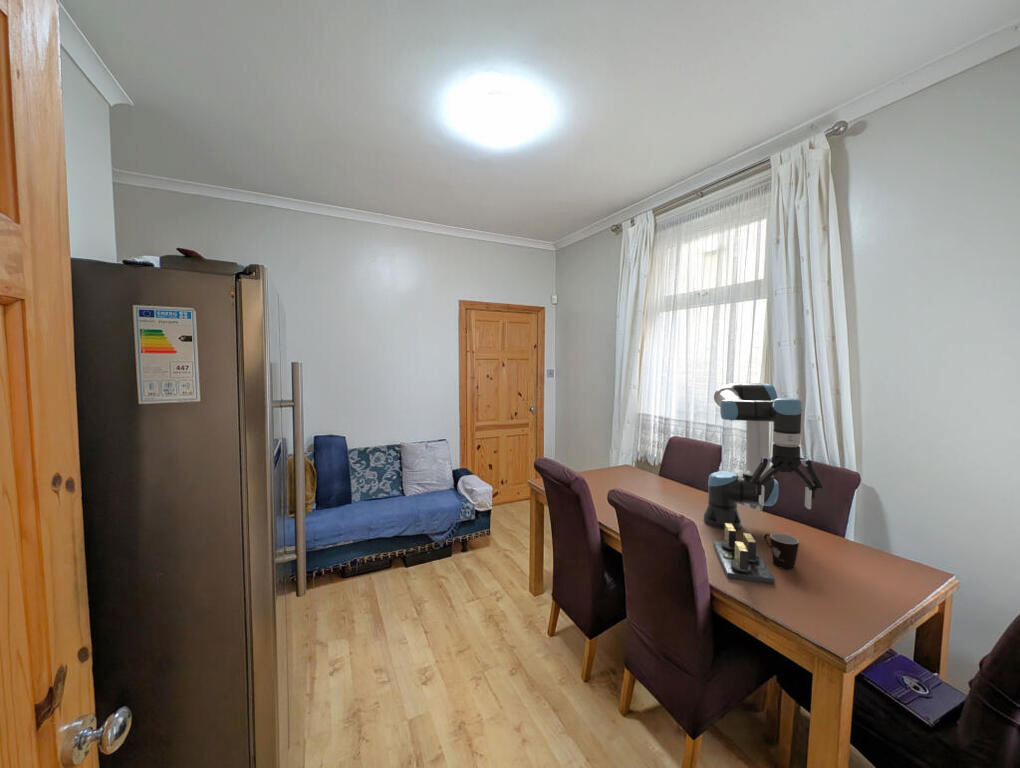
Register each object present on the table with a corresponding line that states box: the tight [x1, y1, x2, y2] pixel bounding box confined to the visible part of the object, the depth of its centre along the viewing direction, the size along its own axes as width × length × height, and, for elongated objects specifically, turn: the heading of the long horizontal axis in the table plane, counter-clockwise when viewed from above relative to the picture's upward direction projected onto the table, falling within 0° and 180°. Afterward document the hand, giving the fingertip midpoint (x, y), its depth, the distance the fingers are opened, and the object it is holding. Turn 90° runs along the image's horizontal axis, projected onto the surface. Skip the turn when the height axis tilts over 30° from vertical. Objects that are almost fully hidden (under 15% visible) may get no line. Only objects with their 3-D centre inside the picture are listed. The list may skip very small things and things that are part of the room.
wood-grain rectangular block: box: [742, 532, 759, 563], centre depth 140 cm, size 7×6×8 cm
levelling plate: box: [713, 540, 775, 585], centre depth 141 cm, size 24×14×3 cm, turn 162°
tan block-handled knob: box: [720, 523, 737, 551], centre depth 149 cm, size 7×6×8 cm
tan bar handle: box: [731, 540, 751, 573], centre depth 134 cm, size 7×6×8 cm
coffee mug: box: [763, 532, 800, 571], centre depth 141 cm, size 12×9×10 cm
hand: (784, 505), depth 130 cm, fingers open, 13 cm apart
